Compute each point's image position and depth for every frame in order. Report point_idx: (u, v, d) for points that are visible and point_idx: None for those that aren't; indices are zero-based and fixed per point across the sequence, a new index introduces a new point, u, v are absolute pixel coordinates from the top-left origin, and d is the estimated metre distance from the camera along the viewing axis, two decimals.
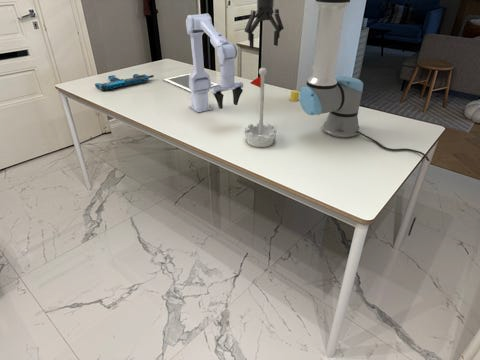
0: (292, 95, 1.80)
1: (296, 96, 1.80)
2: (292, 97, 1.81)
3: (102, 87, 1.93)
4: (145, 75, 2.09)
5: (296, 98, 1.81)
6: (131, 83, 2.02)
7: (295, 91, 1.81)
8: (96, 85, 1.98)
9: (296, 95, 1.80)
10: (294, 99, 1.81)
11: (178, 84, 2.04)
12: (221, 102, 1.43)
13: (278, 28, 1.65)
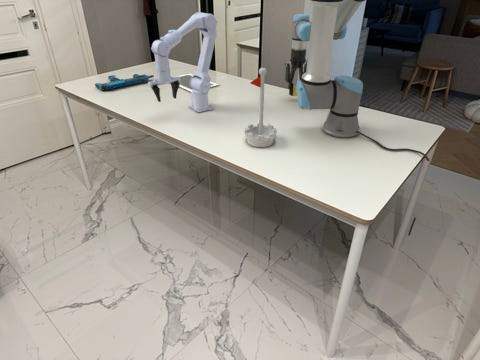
0: (293, 90, 1.79)
1: None
2: None
3: (102, 87, 1.93)
4: (145, 75, 2.09)
5: None
6: (131, 83, 2.02)
7: None
8: (96, 85, 1.98)
9: None
10: (295, 94, 1.79)
11: None
12: (158, 95, 1.52)
13: None
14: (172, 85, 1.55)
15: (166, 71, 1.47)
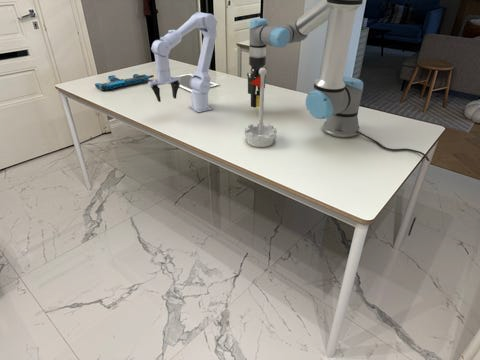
0: None
1: None
2: None
3: (102, 87, 1.93)
4: (145, 75, 2.09)
5: None
6: (131, 83, 2.02)
7: (256, 96, 1.64)
8: (96, 85, 1.98)
9: (259, 100, 1.64)
10: (258, 105, 1.65)
11: None
12: (158, 95, 1.52)
13: None
14: (172, 85, 1.55)
15: (166, 71, 1.47)
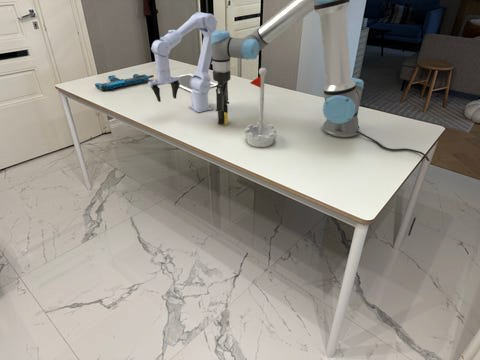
0: (224, 119, 1.54)
1: (227, 118, 1.55)
2: (224, 121, 1.54)
3: (102, 87, 1.93)
4: (145, 75, 2.09)
5: (227, 120, 1.56)
6: (131, 83, 2.02)
7: None
8: (96, 85, 1.98)
9: (227, 117, 1.55)
10: (226, 122, 1.56)
11: None
12: (158, 95, 1.52)
13: (227, 100, 1.56)
14: (172, 85, 1.55)
15: (166, 71, 1.47)
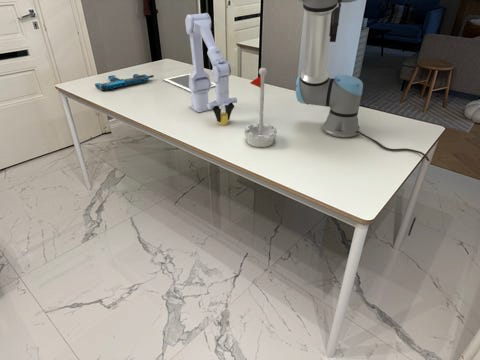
0: (224, 119, 1.54)
1: (227, 118, 1.55)
2: (224, 121, 1.54)
3: (102, 87, 1.93)
4: (145, 75, 2.09)
5: (227, 120, 1.56)
6: (131, 83, 2.02)
7: (223, 113, 1.55)
8: (96, 85, 1.98)
9: (227, 117, 1.55)
10: (226, 122, 1.56)
11: (178, 84, 2.04)
12: (219, 116, 1.52)
13: None
14: (226, 106, 1.55)
15: (226, 93, 1.47)
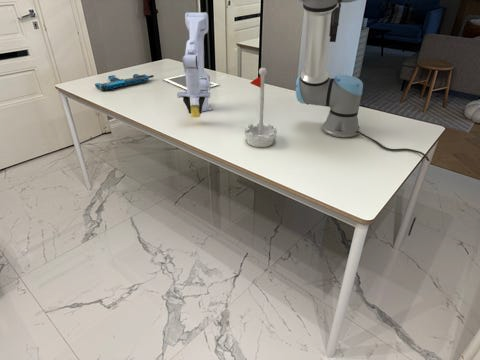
0: (193, 111, 1.52)
1: (198, 112, 1.52)
2: (193, 114, 1.52)
3: (102, 87, 1.93)
4: (145, 75, 2.09)
5: (198, 114, 1.53)
6: (131, 83, 2.02)
7: (195, 106, 1.53)
8: (96, 85, 1.98)
9: (197, 110, 1.52)
10: (196, 115, 1.53)
11: (178, 84, 2.04)
12: (188, 107, 1.51)
13: None
14: None
15: (192, 85, 1.45)
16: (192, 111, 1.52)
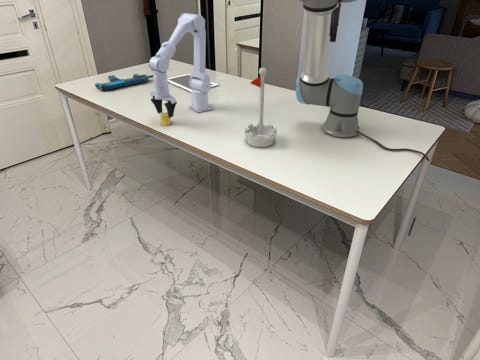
0: (161, 118, 1.54)
1: (165, 120, 1.54)
2: (161, 121, 1.55)
3: (102, 87, 1.93)
4: (145, 75, 2.09)
5: (165, 122, 1.54)
6: (131, 83, 2.02)
7: (165, 114, 1.54)
8: (96, 85, 1.98)
9: (164, 119, 1.54)
10: (163, 123, 1.55)
11: (178, 84, 2.04)
12: (155, 107, 1.54)
13: None
14: None
15: (156, 87, 1.45)
16: None
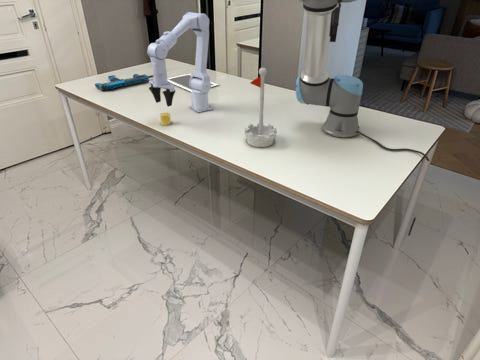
0: (161, 118, 1.54)
1: (165, 120, 1.54)
2: (161, 121, 1.55)
3: (102, 87, 1.93)
4: (145, 75, 2.09)
5: (165, 122, 1.54)
6: (131, 83, 2.02)
7: (165, 114, 1.54)
8: (96, 85, 1.98)
9: (164, 119, 1.54)
10: (163, 123, 1.55)
11: (178, 84, 2.04)
12: (154, 95, 1.51)
13: None
14: None
15: (155, 75, 1.43)
16: None
